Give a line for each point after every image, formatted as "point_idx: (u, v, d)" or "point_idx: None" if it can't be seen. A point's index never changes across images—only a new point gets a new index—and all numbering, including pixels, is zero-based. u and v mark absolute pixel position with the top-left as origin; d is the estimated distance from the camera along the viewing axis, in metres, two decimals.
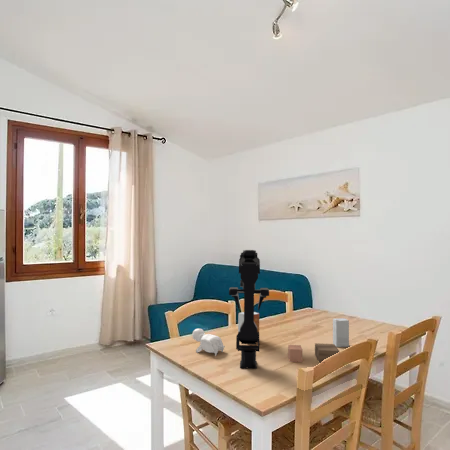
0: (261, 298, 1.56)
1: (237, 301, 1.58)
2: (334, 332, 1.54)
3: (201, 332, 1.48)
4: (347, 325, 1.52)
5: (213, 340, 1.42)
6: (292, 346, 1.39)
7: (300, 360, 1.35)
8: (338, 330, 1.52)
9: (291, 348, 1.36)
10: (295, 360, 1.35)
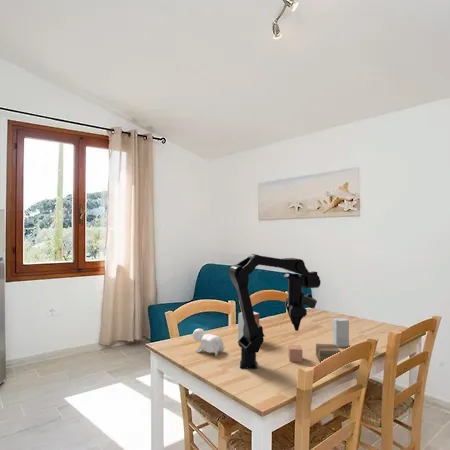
0: (290, 315, 1.33)
1: (288, 313, 1.44)
2: (334, 332, 1.54)
3: (201, 332, 1.48)
4: (347, 325, 1.52)
5: (213, 340, 1.42)
6: (292, 346, 1.39)
7: (300, 360, 1.35)
8: (338, 330, 1.52)
9: (291, 348, 1.36)
10: (295, 360, 1.35)
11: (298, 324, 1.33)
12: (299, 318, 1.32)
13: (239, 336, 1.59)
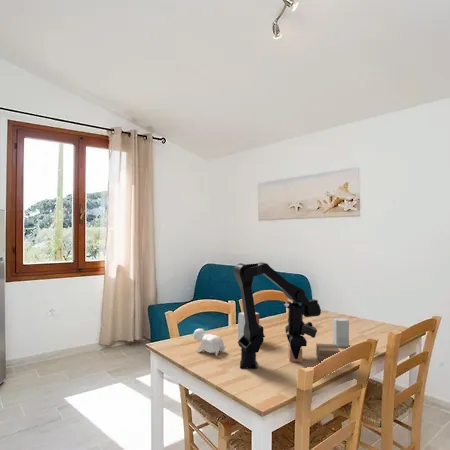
0: None
1: None
2: (334, 332, 1.54)
3: (202, 332, 1.48)
4: (347, 325, 1.52)
5: (213, 340, 1.42)
6: None
7: (300, 360, 1.35)
8: (338, 330, 1.52)
9: None
10: (295, 360, 1.35)
11: (297, 352, 1.34)
12: (298, 346, 1.34)
13: (239, 336, 1.59)
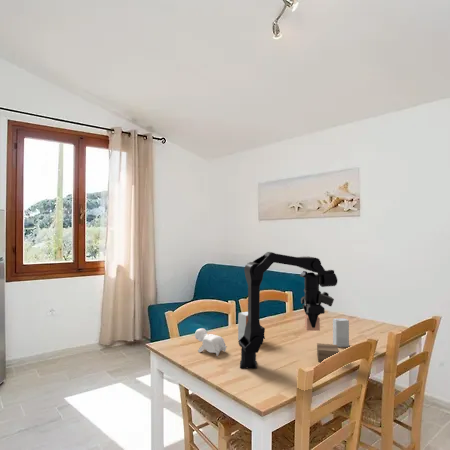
0: (306, 313, 1.35)
1: None
2: (334, 332, 1.54)
3: (203, 332, 1.48)
4: (347, 325, 1.52)
5: (214, 340, 1.42)
6: None
7: (317, 328, 1.36)
8: (338, 330, 1.52)
9: None
10: (312, 329, 1.36)
11: (315, 321, 1.35)
12: (316, 315, 1.34)
13: (239, 336, 1.59)
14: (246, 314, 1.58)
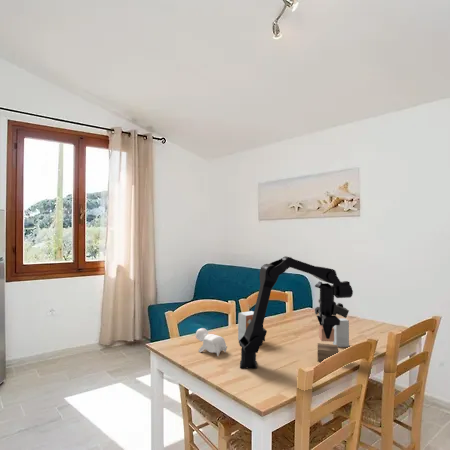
0: (321, 324, 1.35)
1: (319, 323, 1.43)
2: (334, 332, 1.54)
3: (204, 332, 1.48)
4: (347, 325, 1.52)
5: (215, 340, 1.42)
6: None
7: (332, 339, 1.36)
8: (338, 330, 1.52)
9: None
10: (327, 339, 1.36)
11: (329, 332, 1.35)
12: (331, 326, 1.35)
13: (239, 336, 1.59)
14: (246, 314, 1.58)
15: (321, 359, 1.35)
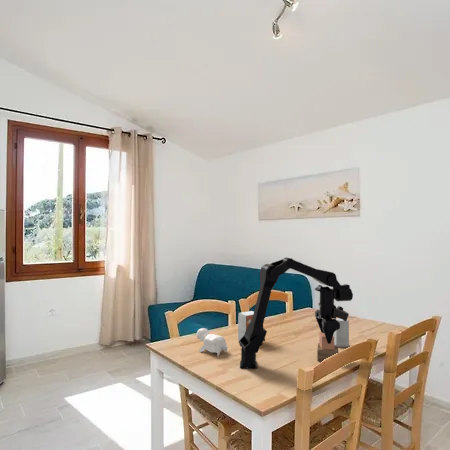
0: (322, 328, 1.33)
1: None
2: (334, 332, 1.54)
3: (205, 332, 1.48)
4: (347, 325, 1.52)
5: (215, 340, 1.42)
6: (323, 334, 1.40)
7: (332, 347, 1.36)
8: (338, 330, 1.52)
9: (323, 336, 1.37)
10: (327, 347, 1.36)
11: (331, 337, 1.33)
12: (332, 331, 1.33)
13: (239, 336, 1.59)
14: (246, 314, 1.58)
15: (321, 359, 1.35)
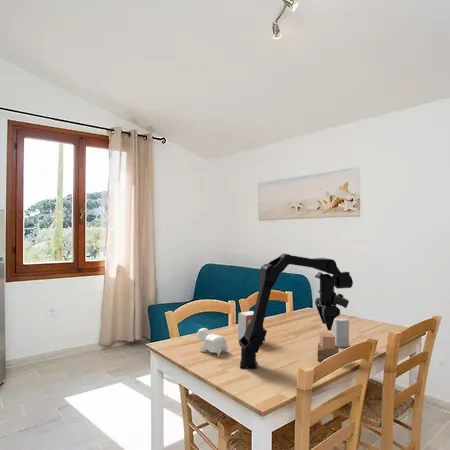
0: (323, 315, 1.33)
1: None
2: (334, 332, 1.54)
3: (206, 332, 1.48)
4: (347, 325, 1.52)
5: (216, 340, 1.42)
6: (324, 334, 1.39)
7: (333, 347, 1.36)
8: (338, 330, 1.52)
9: (324, 336, 1.37)
10: (328, 347, 1.36)
11: (331, 324, 1.33)
12: (332, 318, 1.33)
13: (239, 336, 1.59)
14: (246, 314, 1.58)
15: (321, 359, 1.35)
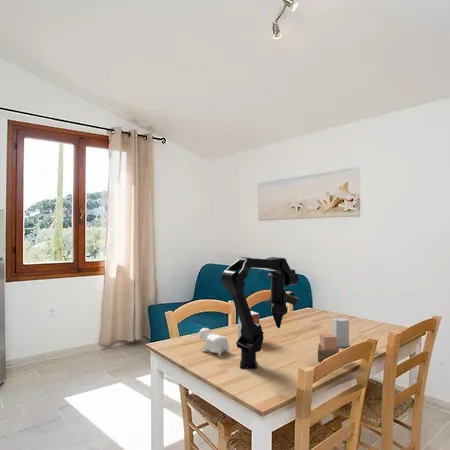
0: (272, 313, 1.36)
1: None
2: (334, 332, 1.54)
3: (207, 332, 1.48)
4: (347, 325, 1.52)
5: (217, 340, 1.42)
6: (325, 334, 1.39)
7: (334, 348, 1.36)
8: (338, 330, 1.52)
9: (325, 336, 1.36)
10: (330, 348, 1.36)
11: (280, 321, 1.36)
12: (281, 315, 1.35)
13: (239, 336, 1.59)
14: None
15: (321, 359, 1.35)
